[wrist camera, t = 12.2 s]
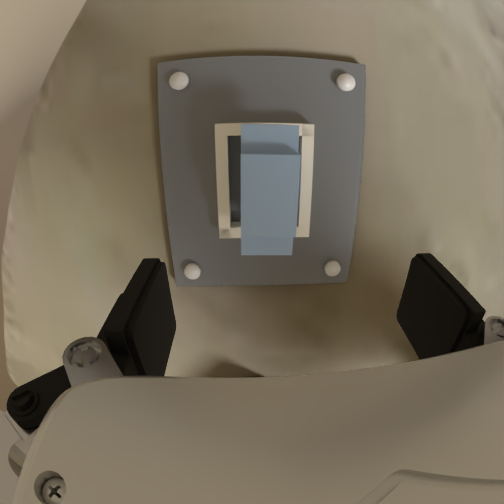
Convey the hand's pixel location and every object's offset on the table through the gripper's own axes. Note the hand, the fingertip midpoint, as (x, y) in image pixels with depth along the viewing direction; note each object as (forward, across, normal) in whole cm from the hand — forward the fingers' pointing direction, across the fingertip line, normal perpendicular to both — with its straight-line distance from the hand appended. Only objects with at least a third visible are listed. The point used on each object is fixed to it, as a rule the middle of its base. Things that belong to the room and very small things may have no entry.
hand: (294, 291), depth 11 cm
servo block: (+17, 0, 0) cm, 17 cm away
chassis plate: (+18, 0, 0) cm, 18 cm away
